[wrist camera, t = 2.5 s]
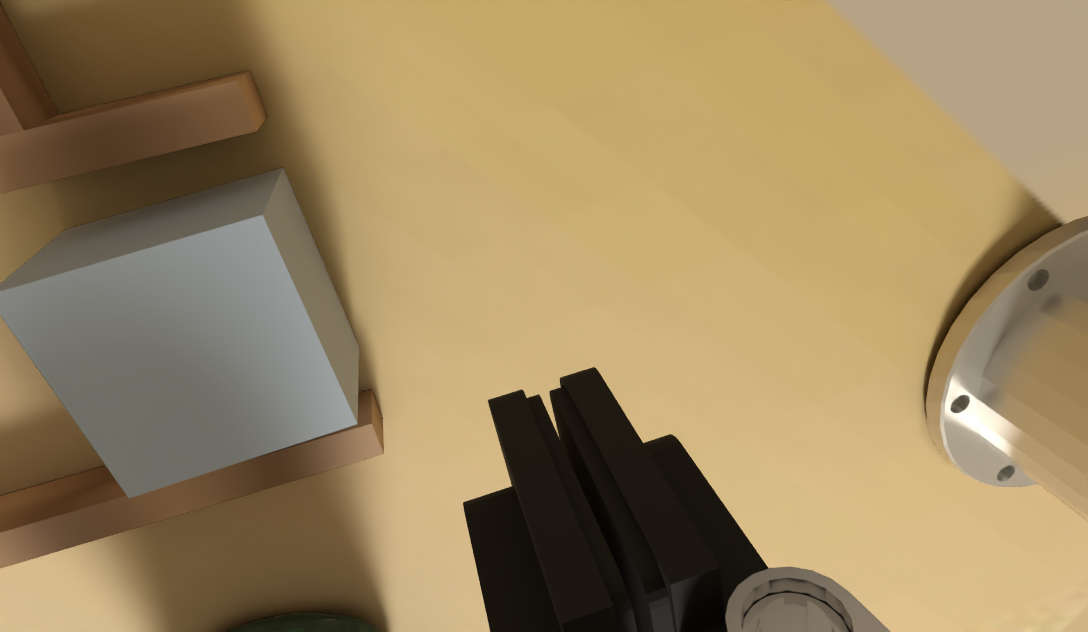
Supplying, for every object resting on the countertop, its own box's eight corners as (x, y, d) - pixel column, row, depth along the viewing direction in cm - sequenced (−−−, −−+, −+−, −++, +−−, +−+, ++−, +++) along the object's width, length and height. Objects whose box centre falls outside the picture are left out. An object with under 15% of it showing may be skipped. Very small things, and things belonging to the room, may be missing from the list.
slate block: (283, 165, 19) (262, 214, 15) (359, 344, 22) (357, 424, 18) (65, 228, 19) (-14, 295, 15) (172, 403, 22) (128, 498, 18)
